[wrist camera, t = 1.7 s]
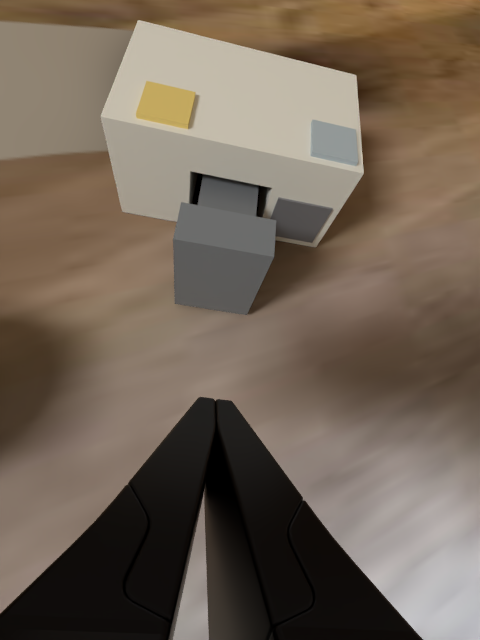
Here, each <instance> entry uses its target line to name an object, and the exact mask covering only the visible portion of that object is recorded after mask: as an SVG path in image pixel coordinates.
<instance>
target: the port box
mask: <svg viewBox="0 0 480 640" xmlns="http://www.w3.org/2000/svg"><path fill="white" fill-rule="evenodd" d="M101 121H102V125H103V129H104V134H105V138H106V142H107V147H108V151H109V156H110V160H111V165H112V169H113V173H114V178H115V182H116V186H117V191H118V195H119V200H120V204H121V208H122V212H126V213H131V214H137V215H142V216H148V217H153V218H158V219H164V220H169V221H175V222H177V219H178V214H179V210H180V205H181V202H184V203H189V204H192V202H193V197H194V191H195V186H196V181H197V176H198V173H202V174H206V175H211V176H216V177H221V178H226V179H231V180H236V181H241V182H246V183H251V184H255V185H260V196H259V207H258V217H262V218H267V219H272V220H276V235H275V240H277V241H283V242H288V243H293V244H299V245H304V246H310V247H315V248H316V247H317V245H318V244H319V242H320V240H321V239H322V237H323V236H324V234H325V233H326V231H327V230H328V228H329V227H330V225H331V223H332V222H333V220H334V219H335V217H336V216H337V214H338V213H339V211H340V210H341V208H342V207H343V205H344V203H345V202H346V200H347V199H348V197H349V196H350V194H351V193H352V191H353V190H354V188H355V187H356V185H357V183H358V182H359V180H360V179H361V177H362V176H363V174H364V169H363V156H362V143H361V131H360V118H359V105H358V92H357V79H356V75H353V74H349V73H345V72H341V71H337V70H334V69H330V68H326V67H322V66H318V65H314V64H310V63H306V62H302V61H298V60H294V59H290V58H286V57H282V56H278V55H274V54H270V53H267V52H263V51H259V50H255V49H251V48H247V47H243V46H239V45H235V44H231V43H227V42H223V41H219V40H215V39H211V38H207V37H203V36H200V35H196V34H192V33H188V32H184V31H180V30H176V29H172V28H168V27H164V26H160V25H156V24H152V23H148V22H144V21H140V20H138V22H137V24H136V27H135V30H134V32H133V35H132V37H131V40H130V42H129V45H128V48H127V50H126V53H125V55H124V58H123V61H122V63H121V65H120V68H119V71H118V73H117V76H116V78H115V81H114V84H113V86H112V89H111V91H110V94H109V96H108V99H107V101H106V104H105V107H104V109H103V112H102V114H101Z"/></svg>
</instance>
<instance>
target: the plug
mask: <svg viewBox="0 0 480 640" xmlns="http://www.w3.org/2000/svg"><path fill="white" fill-rule="evenodd" d="M258 189H259V185H255V184H251V183H246V182H241V181H236V180H231V179H226V178H221V177H216V176H211V175H206V174H203V178H202V184H201V189H200V194H199V200H198V205H194V204H189V203H184V202H181V205H180V210H179V214H178V219H177V224H176V229H175V233H174V238H173V248H174V289H175V304H180V305H186V306H192V307H199V308H205V309H212V310H218V311H225V312H231V313H237V314H244V315H247V313H248V311H249V309H250V307H251V305H252V303H253V301H254V299H255V296H256V294H257V292H258V290H259V288H260V286H261V284H262V282H263V280H264V277H265V275H266V273H267V271H268V269H269V267H270V265H271V263H272V260H273V258H274V251H275V235H276V220H272V219H267V218H262V217H256V210H257V200H258Z"/></svg>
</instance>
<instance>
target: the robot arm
mask: <svg viewBox="0 0 480 640" xmlns="http://www.w3.org/2000/svg"><path fill="white" fill-rule="evenodd" d="M204 488H205V491H204ZM203 493H204V503H205V533H206V563H207V594H208V624H209V640H423V639H422V638H421V637H420V636H419V635H418V634H417V633H416V632H415V630H414V629H413V628H412V627H411V626H410V625H409V624H408V623H407V621H406V620H405V619H404V618H403V617H402V616H401V615H400V614H399V612H398V611H397V610H396V609H395V608H394V607H393V606H392V604H391V603H390V602H389V601H388V600H387V599H386V598H385V597H384V595H383V594H382V593H381V592H380V591H379V590H378V589H377V588H376V586H375V585H374V584H373V583H372V582H371V581H370V580H369V578H368V577H367V576H366V575H365V574H364V573H363V572H362V571H361V569H360V568H359V567H358V566H357V565H356V564H355V563H354V561H353V560H352V559H351V558H350V557H349V556H348V554H347V553H346V552H345V551H344V550H343V548H342V547H341V546H340V545H339V544H338V543H337V541H336V540H335V539H334V538H333V537H332V535H331V534H330V533H329V531H328V530H327V529H326V528H325V526H324V525H323V524H322V522H321V521H320V520H319V519H318V517H317V516H316V515H315V513H314V512H313V511H312V509H311V508H310V506H309V505H308V504H307V502H306V501H304V500H303V497H302V496H301V494H300V493H299V492H298V490H297V489H296V488H295V486H294V485H293V484H292V482H291V481H290V479H289V478H288V477H287V475H286V474H285V473H284V471H283V470H282V469H281V467H280V466H279V465H278V463H277V462H276V460H275V459H274V458H273V456H272V455H271V454H270V452H269V451H268V450H267V448H266V447H265V445H264V444H263V443H262V441H261V440H260V439H259V437H258V436H257V435H256V433H255V432H254V430H253V429H252V428H251V426H250V425H249V424H248V422H247V421H246V420H245V418H244V417H243V415H242V414H241V413H240V411H239V410H238V409H237V407H236V406H235V405H234V403H233V402H232V401H229V400H220V399H217V400H216V401H215V400H214V399H212V398H204V397H199V398H198V399H197V400H196V401H195V402H194V404H193V405H192V406H191V407H190V409H189V410H188V411H187V412H186V413H185V415H184V416H183V417H182V418H181V419H180V421H179V422H178V423H177V424H176V425H175V427H174V428H173V429H172V430H171V432H170V433H169V434H168V435H167V436H166V438H165V439H164V440H163V441H162V442H161V444H160V445H159V446H158V447H157V449H156V450H155V451H154V452H153V453H152V455H151V456H150V457H149V458H148V459H147V461H146V462H145V463H144V464H143V466H142V467H141V468H140V469H139V470H138V472H137V473H136V474H135V475H134V476H133V478H132V479H131V480H130V481H129V483H128V485H126V486H125V487H124V488H123V490H122V491H121V492H120V493H119V494H118V496H117V497H116V498H115V499H114V500H113V501H112V503H111V504H110V505H109V506H108V507H107V508H106V509H105V511H104V512H103V513H102V514H101V515H100V516H99V517H98V518H97V520H96V521H95V522H94V523H93V524H92V525H91V526H90V527H89V528H88V529H87V530H86V531H85V532H84V533H83V534H82V535H81V536H80V537H79V538H78V539H77V540H76V541H75V542H74V543H73V544H72V545H71V546H70V547H69V548H68V549H67V550H66V551H65V552H64V553H63V554H62V555H61V556H60V557H59V558H57V559H56V560H55V561H54V562H53V563H52V564H51V565H50V566H49V567H48V568H47V569H46V570H45V571H44V572H43V573H42V574H41V575H40V576H39V577H38V578H37V579H36V580H35V581H34V582H33V583H32V584H31V585H29V586H28V587H27V588H26V589H25V590H24V591H23V592H22V593H21V594H20V595H19V596H18V597H17V598H16V599H15V600H14V601H13V602H12V603H11V604H10V605H9V606H8V607H7V608H6V609H5V610H4V611H3V612H1V613H0V640H173V635H174V631H175V626H176V621H177V617H178V612H179V607H180V602H181V598H182V593H183V588H184V584H185V579H186V574H187V569H188V565H189V560H190V555H191V551H192V546H193V541H194V536H195V532H196V527H197V522H198V518H199V513H200V508H201V503H202V499H203Z"/></svg>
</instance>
